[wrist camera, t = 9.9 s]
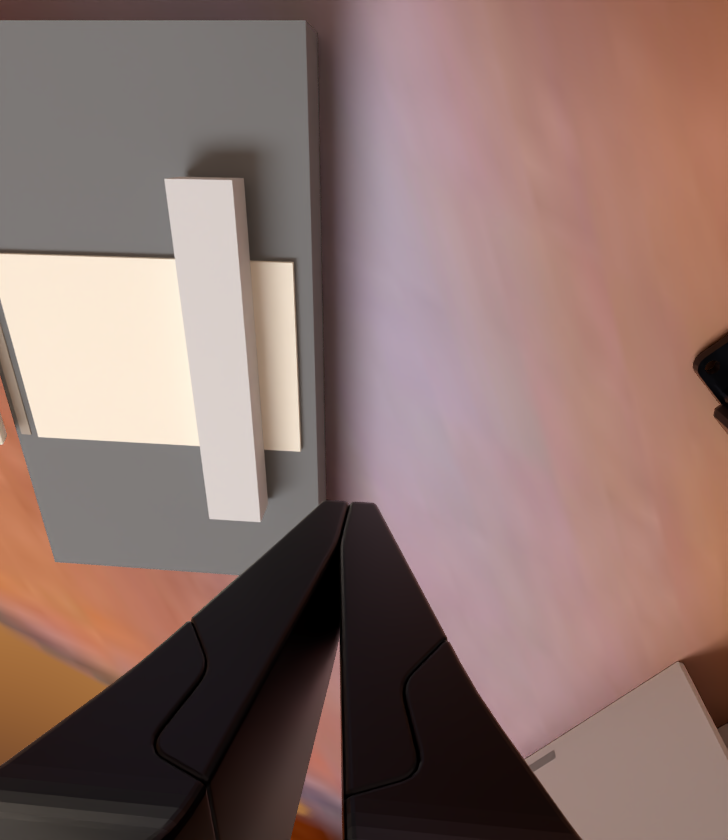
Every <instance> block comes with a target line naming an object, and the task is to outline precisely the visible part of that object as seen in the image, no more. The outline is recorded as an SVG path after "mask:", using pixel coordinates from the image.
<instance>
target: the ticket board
mask: <svg viewBox="0 0 728 840" xmlns="http://www.w3.org/2000/svg"><path fill="white" fill-rule="evenodd" d="M0 376H1V379H2V383H3V386H4V390H5V393H6V396H7V400H8V403H9V407H10V410H11V413H12V417H13V420H14V424H15V427H16V430H17V434H18V437H19V441H20V444H21V447H22V451H23V454H24V457H25V461H26V464H27V468H28V471H29V474H30V478H31V481H32V485H33V488H34V491H35V495H36V498H37V502H38V505H39V508H40V512H41V515H42V519H43V522H44V525H45V529H46V532H47V536H48V539H49V542H50V546H51V549H52V553H53V556H54V559H55V562H63V563H77V564H91V565H105V566H119V567H132V568H146V569H160V570H174V571H188V572H202V573H215V574H229V575H241V574H242V573H243V572H244V571H245V570H246V569H247V568H248V567H250V566H251V565H252V564H253V563H254V562H255V561H256V560H257V559H259V558H260V557H261V556H262V555H263V554H264V553H265V552H266V551H268V550H269V549H270V548H271V547H272V546H273V545H274V544H275V543H277V542H278V541H279V540H280V539H281V538H282V537H283V536H284V535H286V534H287V533H288V532H289V531H290V530H291V529H292V528H293V527H295V526H296V525H297V524H298V523H299V522H300V521H301V520H302V519H304V518H305V517H306V516H307V515H308V514H309V513H310V512H311V511H313V510H314V509H315V508H316V507H317V506H318V505H319V504H320V503H322V502H323V501H325V500H326V462H325V410H324V357H323V305H322V252H321V199H320V147H319V94H318V42H317V32H316V31H315V30H314V29H313V28H312V27H311V26H310V25H309V23H308V22H307V21H306V20H0Z"/></svg>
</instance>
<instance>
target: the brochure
mask: <svg viewBox="0 0 728 840" xmlns="http://www.w3.org/2000/svg"><path fill="white" fill-rule="evenodd" d="M525 761H526V763H527V764H528V766H529V767H530V768H531V770H532V771H533V773H534V774H535V775H536V777H537V778H538V780H539V781H540V782H541V784H542V785H543V787H544V788H545V789H546V791H547V792H548V794H549V795H550V796H551V798H552V799H553V801H554V802H555V803H556V805H557V806H558V808H559V809H560V810H561V812H562V813H563V815H564V816H565V817H566V819H567V820H568V821H569V823H570V824H571V825H572V827H573V828H574V829H575V831H576V832H577V833H578V835H579V836H580V837H581V838H582V840H728V723H727V724H725V725H723V726H721V727H720V728H718V729H717V728H716V726H715V724H714V722H713V720H712V718H711V716H710V715H709V713H708V711H707V709H706V707H705V705H704V703H703V701H702V699H701V697H700V695H699V693H698V691H697V689H696V687H695V685H694V683H693V681H692V679H691V677H690V676H689V674H688V672H687V670H686V668H685V666H684V664H683V663H680V662H676V663H674V664H673V665H671V666H670V667H668V668H667V669H665V670H664V671H662V672H660V673H659V674H657V675H656V676H654V677H653V678H651V679H650V680H648V681H646V682H645V683H643V684H642V685H640V686H639V687H637V688H636V689H634V690H632V691H631V692H629V693H628V694H626V695H625V696H623V697H621V698H620V699H618V700H617V701H615V702H614V703H612V704H611V705H609V706H607V707H606V708H604V709H603V710H601V711H600V712H598V713H597V714H595V715H593V716H592V717H590V718H589V719H587V720H586V721H584V722H582V723H581V724H579V725H578V726H576V727H575V728H573V729H572V730H570V731H568V732H567V733H565V734H564V735H562V736H561V737H559V738H558V739H556V740H554V741H553V742H551V743H550V744H548V745H547V746H545V747H543V748H542V749H540V750H539V751H537V752H536V753H534V754H533V755H531V756H529V757H528V758H526V759H525Z"/></svg>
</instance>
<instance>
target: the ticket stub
mask: <svg viewBox="0 0 728 840" xmlns="http://www.w3.org/2000/svg"><path fill="white" fill-rule="evenodd" d="M6 436H7V433H6V430H5V427H4V424H3V420H2V417H1V414H0V445H2V444H4V441H5V439H6Z"/></svg>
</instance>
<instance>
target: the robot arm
mask: <svg viewBox="0 0 728 840" xmlns="http://www.w3.org/2000/svg"><path fill="white" fill-rule="evenodd" d="M710 361H715V364H714V366H713V367H712V368H711V369H708V370H705V367H706V365H707V364H708V362H710ZM693 369H694V371H695V373H696V374H697V376H698V377H699V378H700V379H701V381H702V382H703V383H704V385H705V386H706V387H707V388H708V390H709V391H710V392H711V394H712V395H713V396H714V397H715V399H716V400H717V401H718V403H719V404H720V405H719V406H718V407H716V408H715V411H714V417H715V419H716V420H717V421H718V422H719V424H720V425H721V426H722V427H723V429H724V430H725V431H726V433H727V434H728V335H727V336H725V337H724V338H722V339H721V340H719V341H718V342H716V343H715V344H714V345H712V346H711V347H709V348H708V349H706V350H705V351H703V352H702V353H700V354H699V355H698V356H697V357H696V358H695V360H694V362H693ZM339 636H340V703H341V781H342V840H582V838H581V837H580V836H579V835H578V833H577V832H576V831H575V829H574V828H573V827H572V825H571V824H570V823H569V821H568V820H567V819H566V817H565V816H564V815H563V813H562V812H561V810H560V809H559V808H558V806H557V805H556V803H555V802H554V801H553V799H552V798H551V796H550V795H549V794H548V792H547V791H546V789H545V788H544V787H543V785H542V784H541V782H540V781H539V780H538V778H537V777H536V775H535V774H534V773H533V771H532V770H531V768H530V767H529V766H528V764H527V763H526V761H525V760H524V759H523V757H522V756H521V754H520V753H519V752H518V750H517V749H516V747H515V746H514V745H513V743H512V742H511V740H510V739H509V738H508V736H507V735H506V733H505V732H504V731H503V729H502V728H501V726H500V725H499V723H498V722H497V720H496V719H495V717H494V716H493V714H492V713H491V711H490V710H489V708H488V707H487V705H486V704H485V702H484V701H483V700H482V698H481V697H480V695H479V694H478V692H477V690H476V688H475V687H474V685H473V683H472V682H471V680H470V678H469V676H468V675H467V673H466V671H465V669H464V668H463V666H462V664H461V663H460V661H459V659H458V657H457V655H456V653H455V651H454V649H453V647H452V646H451V644H450V642H448V641H447V637H446V635H445V633H444V631H443V629H442V627H441V625H440V624H439V622H438V620H437V618H436V616H435V614H434V612H433V610H432V609H431V607H430V605H429V603H428V601H427V599H426V597H425V595H424V593H423V592H422V590H421V588H420V586H419V584H418V582H417V580H416V578H415V577H414V575H413V573H412V571H411V569H410V567H409V565H408V563H407V561H406V560H405V558H404V556H403V554H402V552H401V550H400V548H399V546H398V545H397V543H396V541H395V539H394V537H393V535H392V533H391V531H390V529H389V528H388V526H387V524H386V522H385V520H384V518H383V516H382V514H381V513H380V511H379V509H378V507H377V505H376V504H374V503H367V502H352V503H351V504H350V505H349V503H348V502H346V501H333V500H325V501H323V502H322V503H320V504H319V505H318V506H317V507H316V508H315V509H314V510H313V511H311V512H310V513H309V514H308V515H307V516H306V517H305V518H304V519H302V520H301V521H300V522H299V523H298V524H297V525H296V526H295V527H293V528H292V529H291V530H290V531H289V532H288V533H287V534H286V535H284V536H283V537H282V538H281V539H280V540H279V541H278V542H277V543H275V544H274V545H273V546H272V547H271V548H270V549H269V550H268V551H266V552H265V553H264V554H263V555H262V556H261V557H260V558H259V559H257V560H256V561H255V562H254V563H253V564H252V565H251V566H250V567H248V568H247V569H246V570H245V571H244V572H243V573H242V574H241V575H239V576H238V577H237V578H236V579H235V580H234V581H233V582H232V583H230V584H229V585H228V586H227V587H226V588H225V589H224V590H223V591H221V592H220V593H219V594H218V595H217V596H216V597H215V598H214V599H212V600H211V601H210V602H209V603H208V604H207V605H206V606H204V607H203V608H202V609H201V610H200V611H199V612H198V613H197V614H195V615H194V616H193V617H192V619H191V622H190V621H188V622H186V623H185V624H184V625H183V626H182V627H181V628H179V629H178V630H177V631H176V632H175V633H174V634H173V635H172V636H170V637H169V638H168V639H167V640H166V641H165V642H163V643H162V644H161V645H160V646H159V647H157V648H156V649H155V650H154V651H153V652H152V653H150V654H149V655H148V656H147V657H146V658H144V659H143V660H142V661H141V662H140V663H138V664H137V665H136V666H135V667H133V668H132V669H131V670H129V671H128V672H127V673H125V674H124V675H123V676H121V677H120V678H119V679H118V680H116V681H115V682H114V683H112V684H111V685H110V686H108V687H107V688H106V689H105V690H103V691H102V692H101V693H99V694H98V695H96V696H95V697H94V698H92V699H91V700H90V701H88V702H87V703H86V704H84V705H83V706H81V707H80V708H79V709H77V710H76V711H75V712H73V713H72V714H71V715H69V716H68V717H66V718H65V719H64V720H62V721H61V722H60V723H58V724H57V725H56V726H54V727H53V728H51V729H50V730H49V731H47V732H46V733H45V734H43V735H42V736H41V737H39V738H38V739H37V740H35V741H34V742H32V743H31V744H30V745H28V746H27V747H26V748H24V749H23V750H21V751H20V752H19V753H17V754H16V755H15V756H13V757H12V758H11V759H9V760H8V761H7V762H5V763H4V764H2V765H1V766H0V840H290V838H291V834H292V830H293V826H294V822H295V817H296V813H297V809H298V805H299V801H300V797H301V793H302V789H303V785H304V781H305V777H306V773H307V769H308V765H309V761H310V757H311V753H312V749H313V745H314V741H315V737H316V733H317V729H318V725H319V720H320V716H321V712H322V708H323V704H324V700H325V696H326V692H327V688H328V684H329V680H330V676H331V672H332V668H333V664H334V660H335V656H336V651H337V647H338V642H339Z"/></svg>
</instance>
